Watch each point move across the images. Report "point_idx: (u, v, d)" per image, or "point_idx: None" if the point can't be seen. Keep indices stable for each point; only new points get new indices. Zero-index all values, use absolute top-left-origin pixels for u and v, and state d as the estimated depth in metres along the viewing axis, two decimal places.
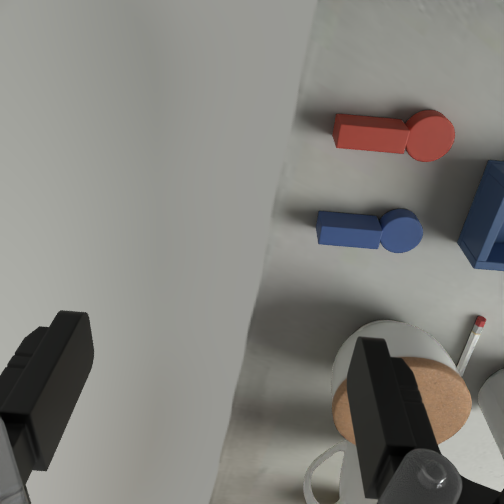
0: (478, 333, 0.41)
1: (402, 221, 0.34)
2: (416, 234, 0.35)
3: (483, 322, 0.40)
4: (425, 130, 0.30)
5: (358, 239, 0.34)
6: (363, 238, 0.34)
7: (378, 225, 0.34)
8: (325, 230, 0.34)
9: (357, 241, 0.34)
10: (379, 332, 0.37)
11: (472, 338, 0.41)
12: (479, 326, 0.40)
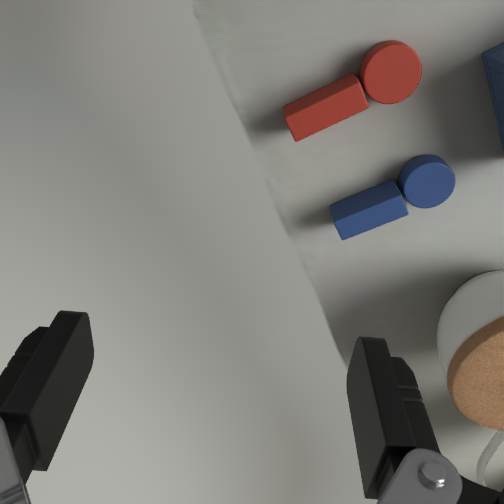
0: None
1: (420, 171, 0.29)
2: (445, 176, 0.29)
3: None
4: (380, 69, 0.25)
5: (380, 215, 0.29)
6: (385, 211, 0.29)
7: (395, 189, 0.29)
8: (340, 224, 0.30)
9: (381, 218, 0.29)
10: (466, 297, 0.31)
11: None
12: None
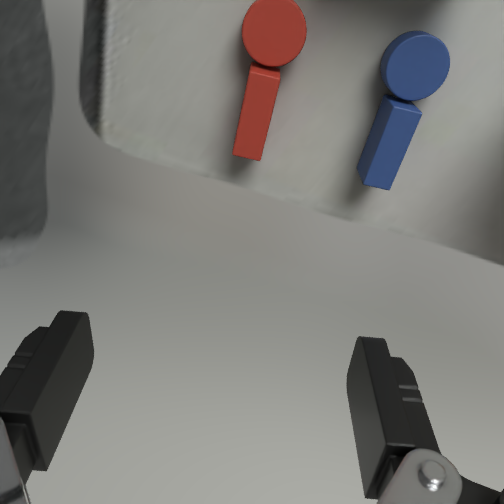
0: None
1: (393, 68, 0.23)
2: (422, 45, 0.23)
3: None
4: (260, 40, 0.23)
5: (397, 139, 0.24)
6: (397, 133, 0.24)
7: (388, 104, 0.24)
8: (370, 180, 0.26)
9: (400, 141, 0.24)
10: None
11: None
12: None
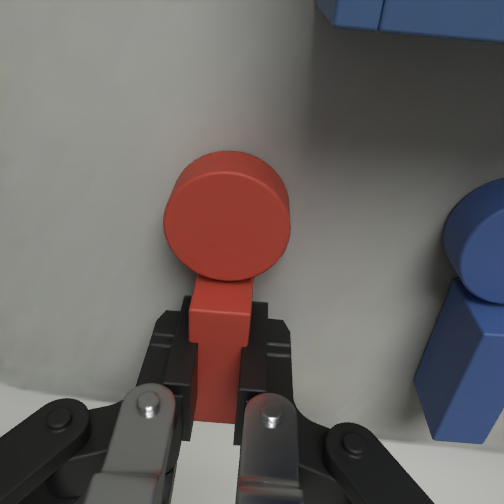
0: None
1: (473, 260, 0.12)
2: None
3: None
4: (202, 245, 0.12)
5: (493, 379, 0.13)
6: (494, 371, 0.12)
7: (469, 317, 0.12)
8: (446, 435, 0.14)
9: (499, 381, 0.13)
10: None
11: None
12: None
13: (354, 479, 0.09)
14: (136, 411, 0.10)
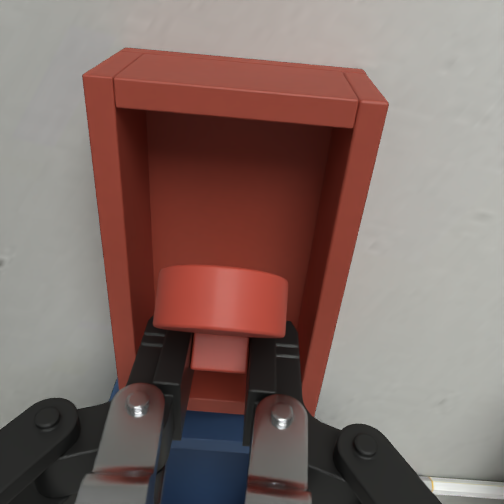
0: None
1: None
2: None
3: None
4: None
5: None
6: None
7: None
8: None
9: None
10: None
11: (442, 493, 0.24)
12: None
13: (364, 480, 0.09)
14: (125, 410, 0.10)
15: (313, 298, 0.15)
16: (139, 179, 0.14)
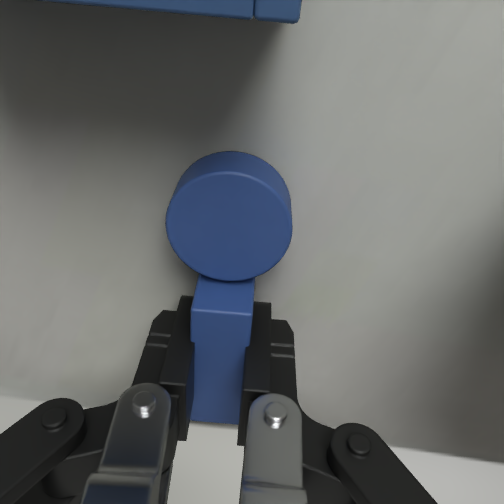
0: None
1: (180, 235, 0.12)
2: (222, 191, 0.11)
3: None
4: None
5: (221, 357, 0.13)
6: (217, 348, 0.12)
7: None
8: (200, 415, 0.14)
9: (227, 359, 0.13)
10: None
11: None
12: None
13: (358, 479, 0.09)
14: (132, 410, 0.10)
15: None
16: None
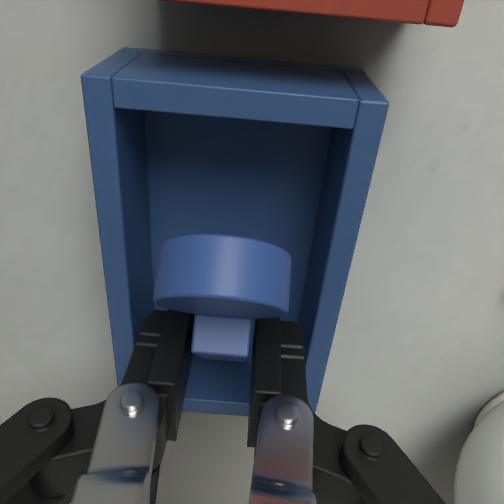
0: None
1: (171, 306, 0.11)
2: (209, 300, 0.10)
3: None
4: None
5: (223, 357, 0.14)
6: (219, 357, 0.14)
7: (194, 323, 0.13)
8: (210, 359, 0.16)
9: (229, 358, 0.14)
10: None
11: None
12: None
13: (370, 481, 0.09)
14: (120, 410, 0.10)
15: None
16: None
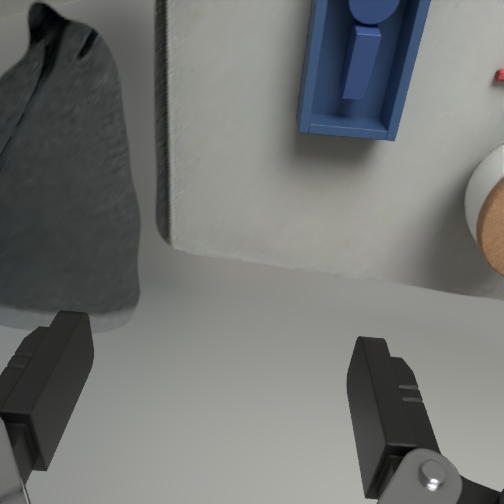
0: None
1: (354, 0, 0.29)
2: None
3: (501, 75, 0.33)
4: None
5: (364, 59, 0.30)
6: (363, 54, 0.30)
7: (354, 30, 0.30)
8: (347, 95, 0.32)
9: (366, 60, 0.30)
10: (465, 213, 0.36)
11: None
12: None
13: None
14: None
15: None
16: None
